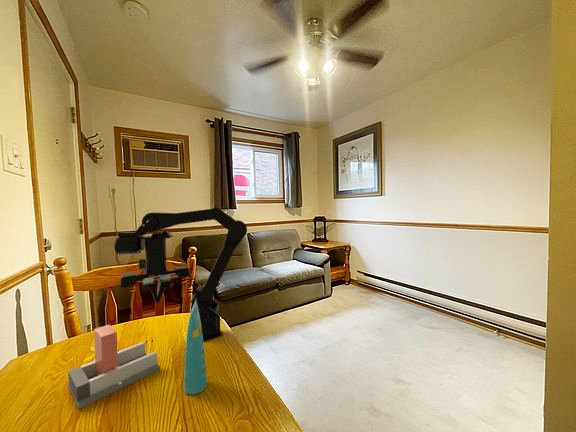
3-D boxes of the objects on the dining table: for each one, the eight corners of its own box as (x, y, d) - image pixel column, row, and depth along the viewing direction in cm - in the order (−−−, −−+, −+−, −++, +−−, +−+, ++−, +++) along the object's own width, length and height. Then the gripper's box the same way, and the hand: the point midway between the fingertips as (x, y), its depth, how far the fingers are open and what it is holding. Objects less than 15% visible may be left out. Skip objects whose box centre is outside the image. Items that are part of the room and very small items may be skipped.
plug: (110, 367, 62) (109, 324, 62) (118, 377, 58) (116, 331, 58) (95, 374, 60) (94, 329, 59) (102, 384, 56) (101, 337, 56)
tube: (207, 395, 54) (205, 308, 53) (183, 401, 52) (180, 312, 52) (206, 374, 61) (204, 297, 60) (185, 379, 59) (182, 300, 59)
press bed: (142, 354, 70) (142, 339, 70) (159, 369, 63) (158, 353, 63) (67, 385, 58) (67, 368, 58) (78, 409, 51) (77, 389, 51)
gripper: (182, 247, 88) (183, 290, 89) (118, 252, 78) (120, 302, 78) (189, 250, 79) (191, 299, 80) (119, 258, 69) (121, 313, 69)
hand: (157, 302), depth 77 cm, fingers closed
